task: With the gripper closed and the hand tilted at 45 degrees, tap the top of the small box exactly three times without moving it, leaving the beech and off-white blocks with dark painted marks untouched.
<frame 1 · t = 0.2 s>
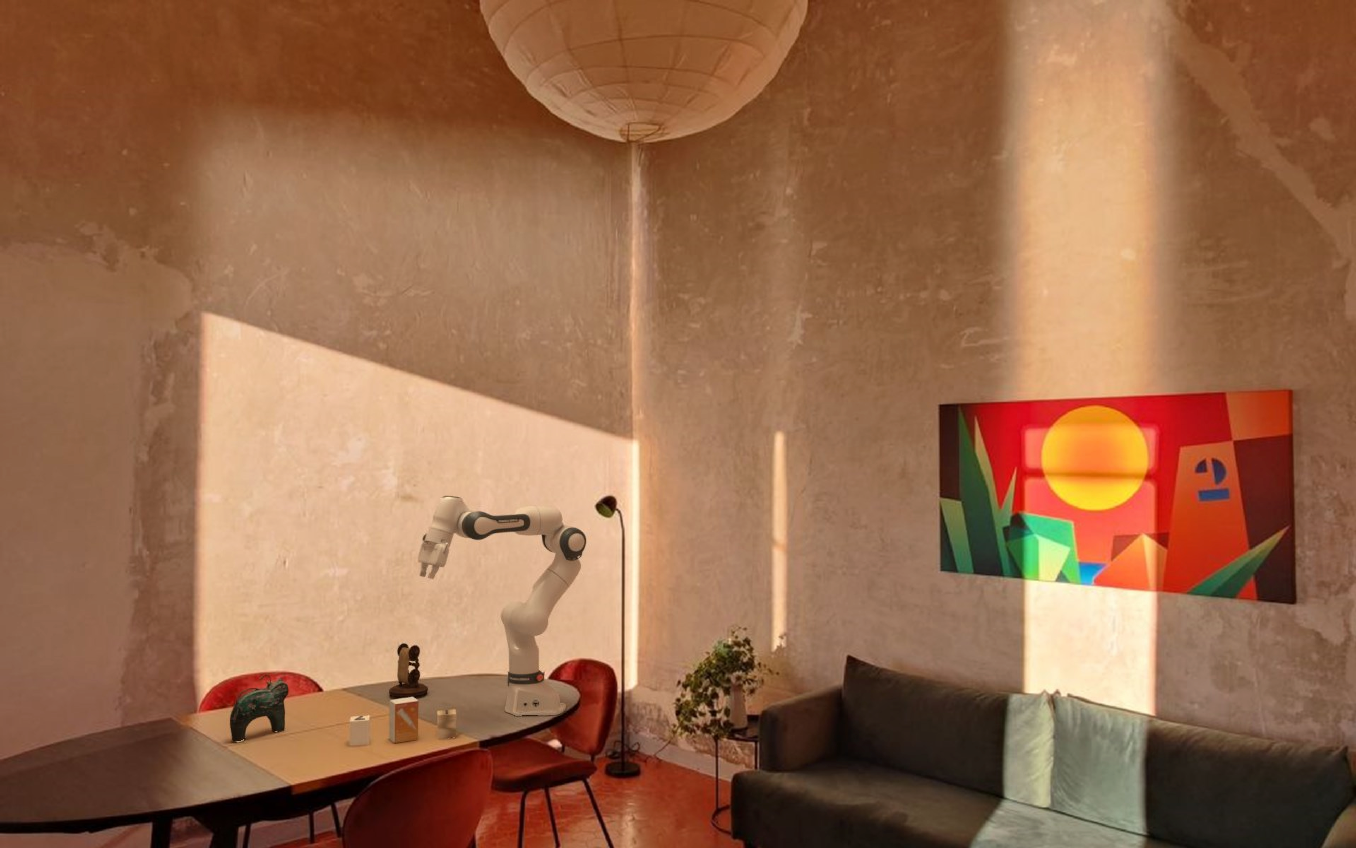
hand: (426, 577, 337), 52 cm above the table, tool tilted 20°, fingers open, 8 cm apart
bronze animal figurine: (260, 736, 326), on the table
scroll: (408, 695, 379), on the table
small box: (403, 740, 321), on the table
off-white block: (359, 743, 318), on the table
beech block: (446, 736, 325), on the table
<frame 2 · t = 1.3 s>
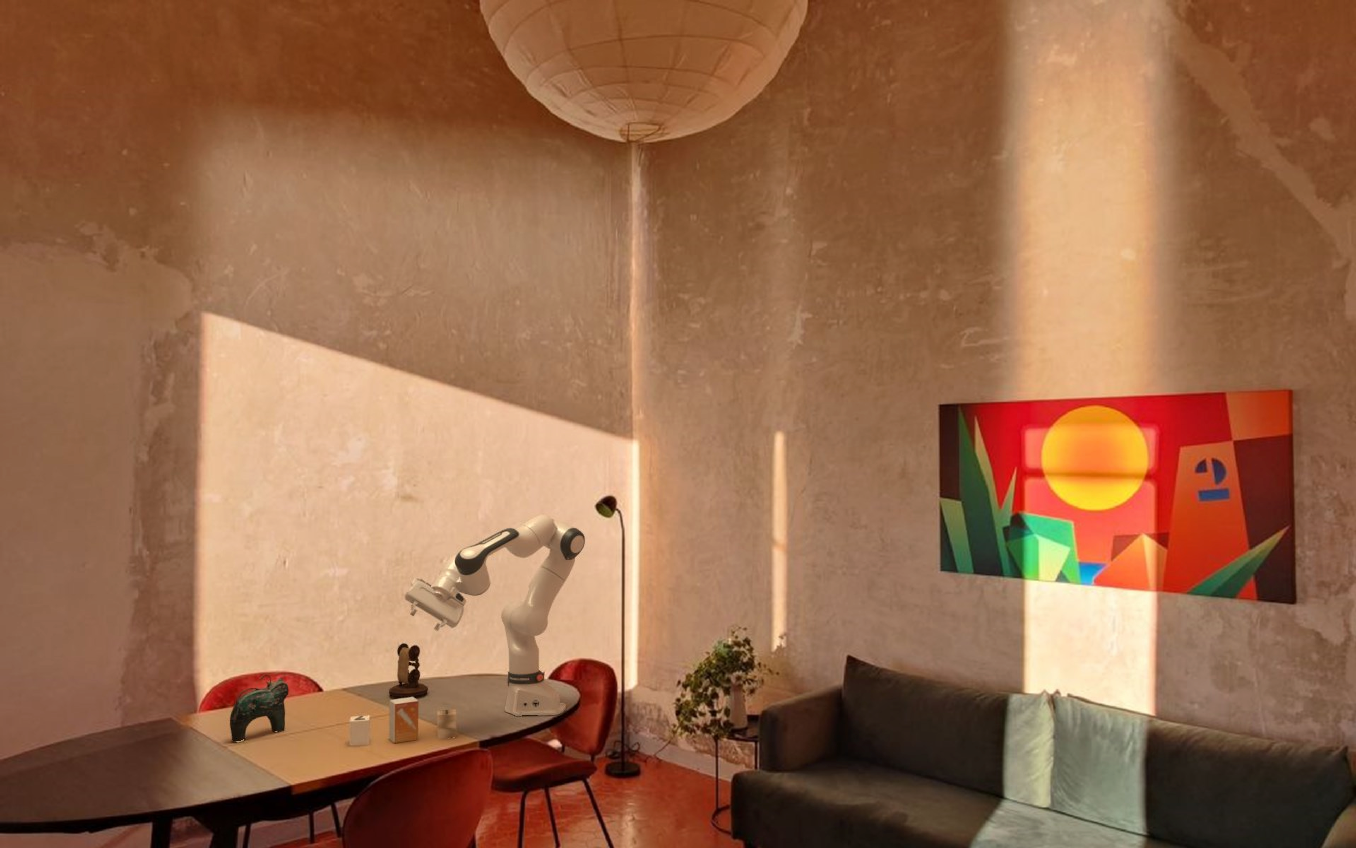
hand: (424, 621, 321), 39 cm above the table, tool tilted 55°, fingers open, 8 cm apart
nothing on the table moved.
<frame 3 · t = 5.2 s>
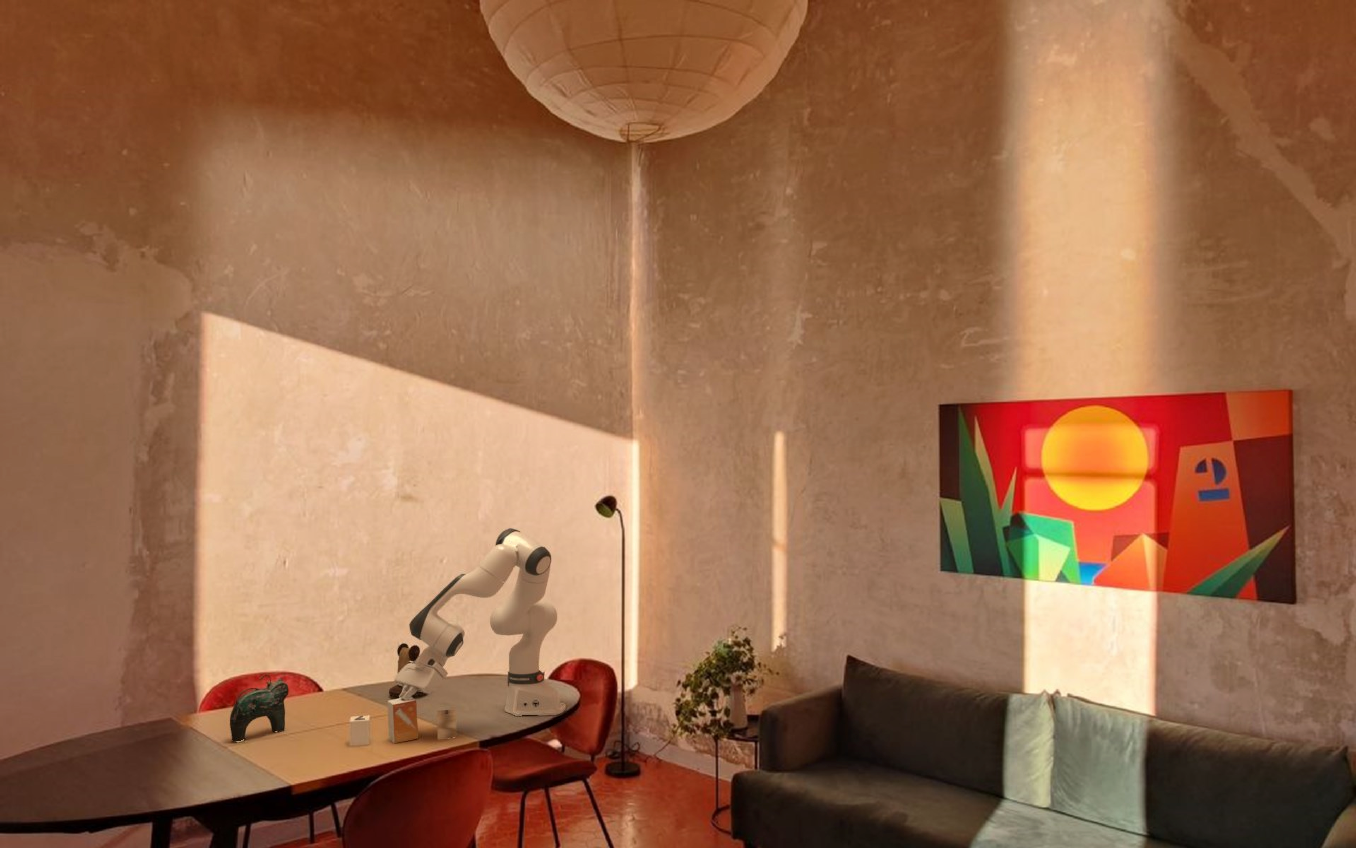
hand: (402, 698, 321), 14 cm above the table, tool tilted 45°, fingers closed, pressing on small box
small box: (403, 739, 321), on the table, touching gripper
everything else where it was.
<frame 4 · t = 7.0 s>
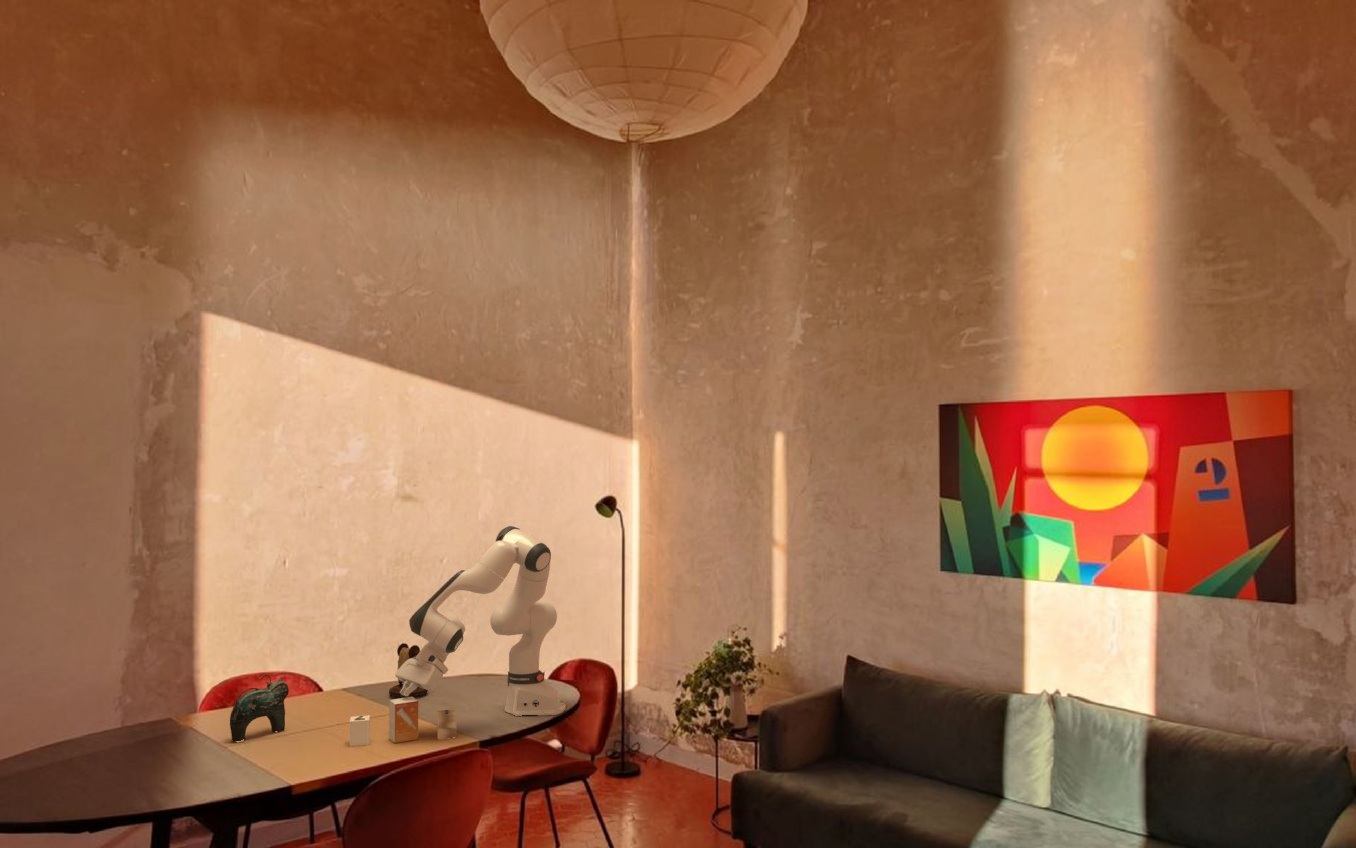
hand: (403, 694, 322), 15 cm above the table, tool tilted 45°, fingers closed
small box: (403, 739, 321), on the table
everything else where it was.
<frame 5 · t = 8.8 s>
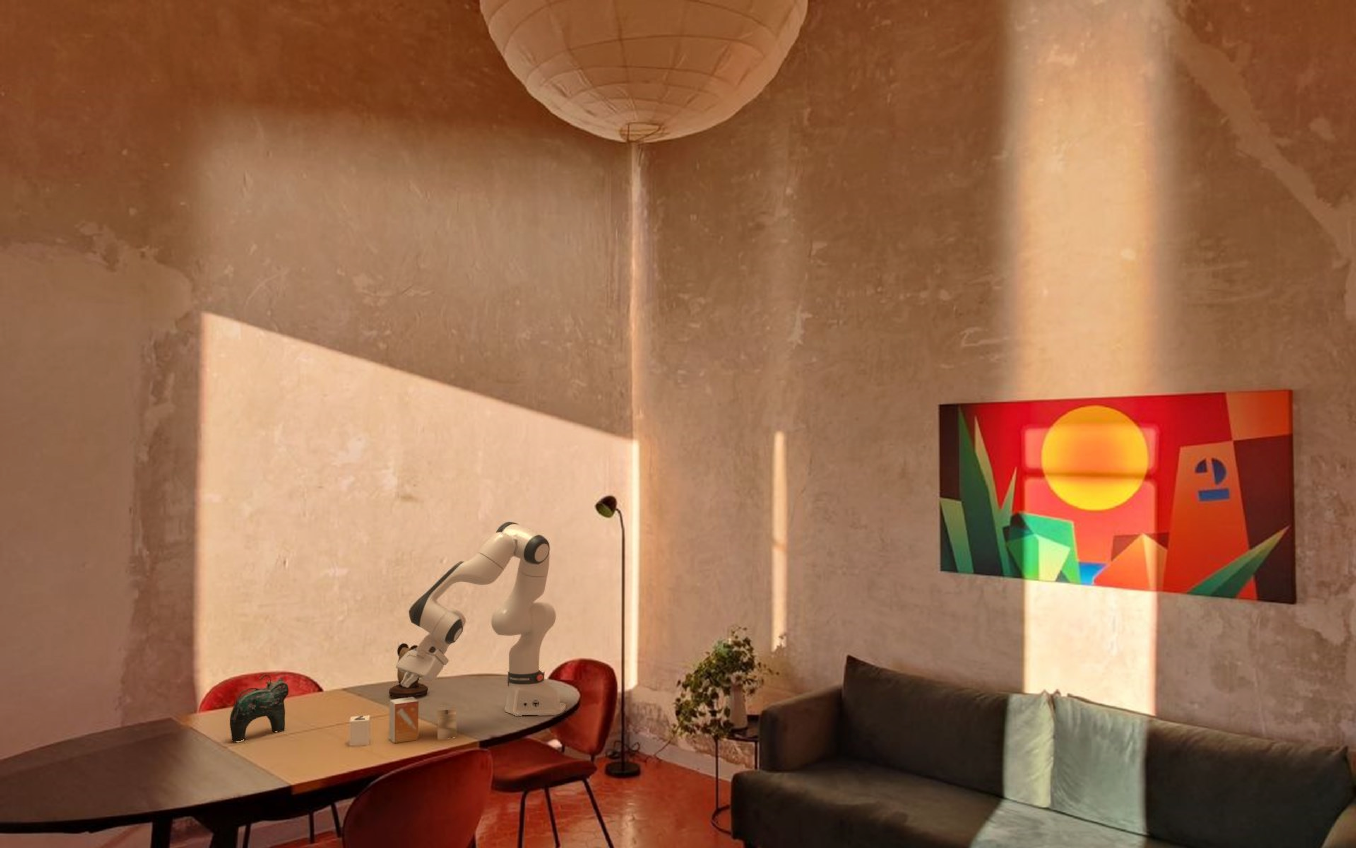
hand: (403, 685, 322), 18 cm above the table, tool tilted 45°, fingers closed
nothing on the table moved.
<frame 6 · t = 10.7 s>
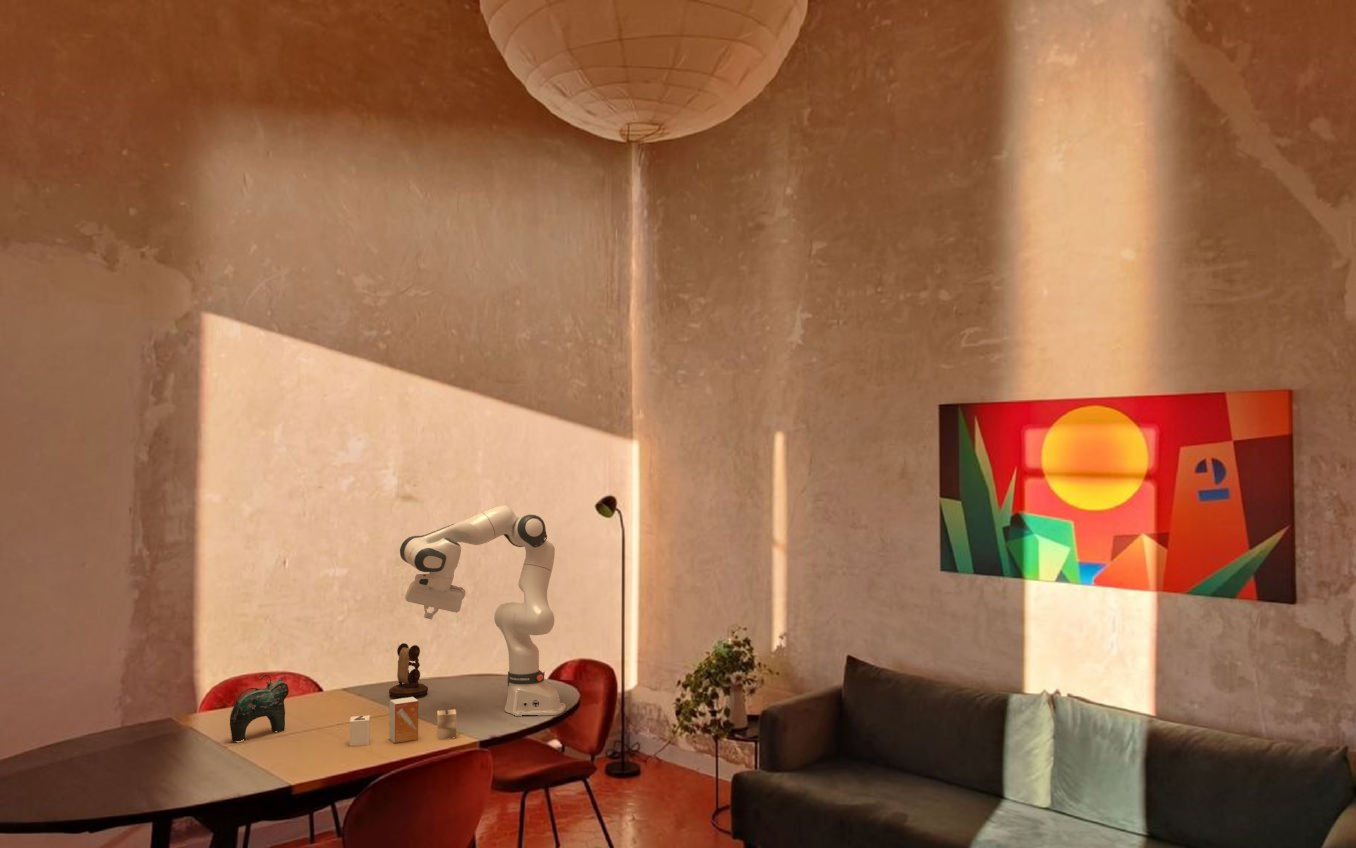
hand: (427, 618, 352), 35 cm above the table, tool tilted 20°, fingers closed
nothing on the table moved.
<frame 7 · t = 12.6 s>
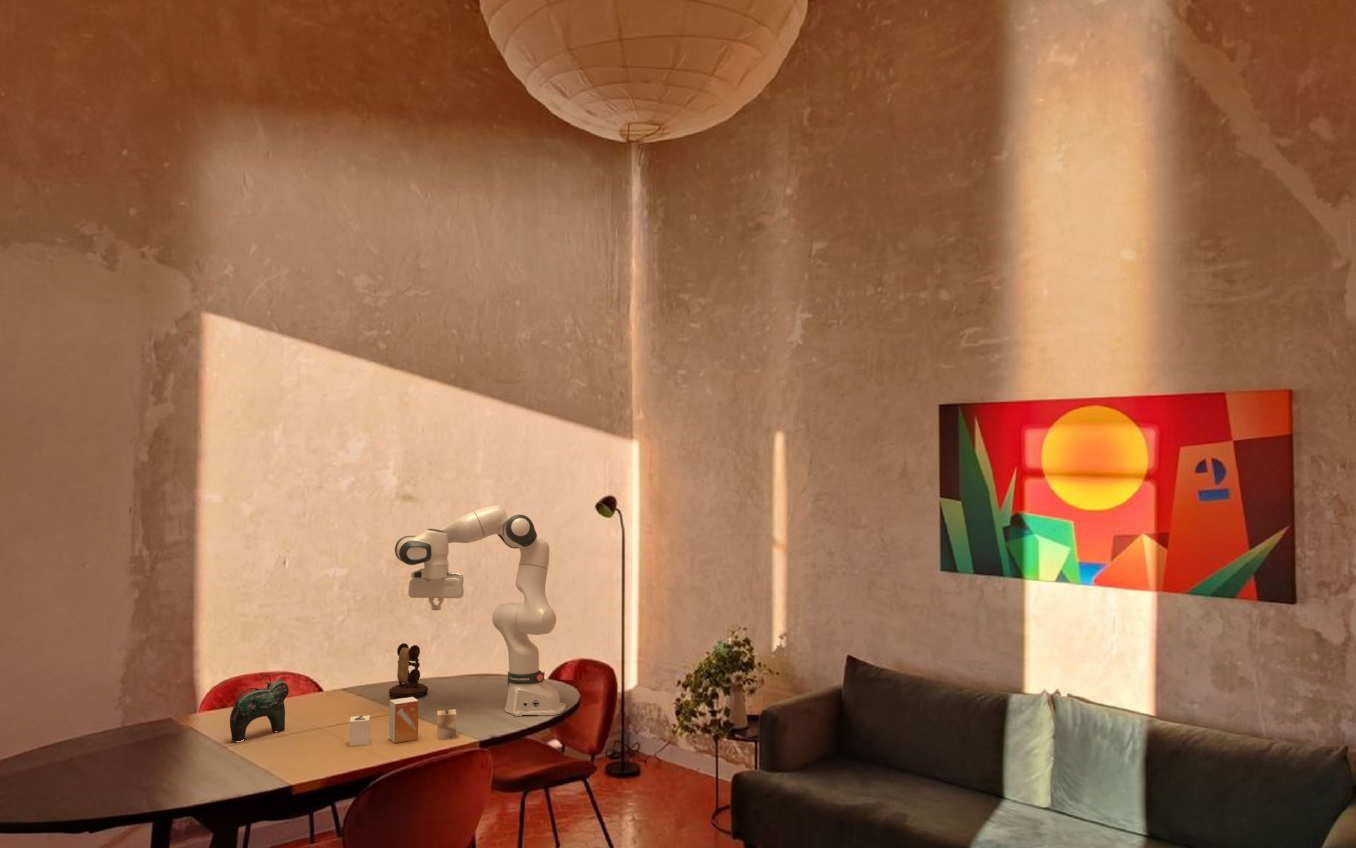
hand: (436, 610, 357), 37 cm above the table, tool pointing down, fingers closed
nothing on the table moved.
at the end: small box moved 0.2 cm from its start; small box tilted 0°; beech block moved 0.1 cm from its start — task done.
